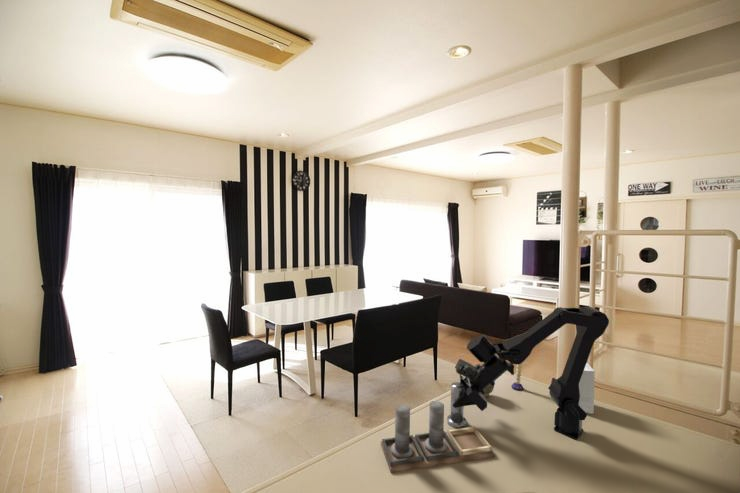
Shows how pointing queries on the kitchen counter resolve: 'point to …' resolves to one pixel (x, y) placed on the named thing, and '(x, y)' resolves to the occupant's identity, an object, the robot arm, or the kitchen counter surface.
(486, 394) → the cup
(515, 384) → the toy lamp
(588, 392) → the skincare box
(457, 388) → the grey cylindrical piece
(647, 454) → the kitchen counter surface
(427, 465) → the pin board
